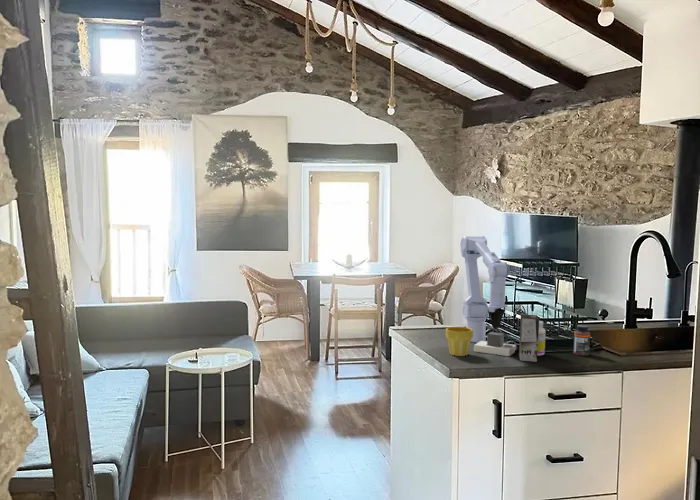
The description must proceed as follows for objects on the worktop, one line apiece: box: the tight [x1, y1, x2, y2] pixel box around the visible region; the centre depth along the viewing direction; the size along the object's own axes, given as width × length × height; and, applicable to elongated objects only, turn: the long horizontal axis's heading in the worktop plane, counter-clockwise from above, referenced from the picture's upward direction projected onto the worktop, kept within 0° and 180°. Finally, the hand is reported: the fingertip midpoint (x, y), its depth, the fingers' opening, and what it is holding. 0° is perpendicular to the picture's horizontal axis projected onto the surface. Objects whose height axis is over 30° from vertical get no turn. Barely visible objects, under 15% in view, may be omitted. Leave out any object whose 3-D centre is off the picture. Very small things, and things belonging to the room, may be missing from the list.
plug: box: [486, 331, 505, 347], centre depth 261 cm, size 4×5×6 cm
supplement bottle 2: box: [572, 324, 591, 357], centre depth 260 cm, size 6×6×11 cm
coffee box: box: [518, 314, 540, 363], centre depth 251 cm, size 9×6×16 cm
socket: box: [473, 340, 517, 357], centre depth 262 cm, size 10×14×3 cm
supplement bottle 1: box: [537, 320, 546, 357], centre depth 258 cm, size 7×7×13 cm
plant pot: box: [445, 326, 473, 357], centre depth 255 cm, size 10×10×10 cm
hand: (495, 327), depth 261 cm, fingers closed
